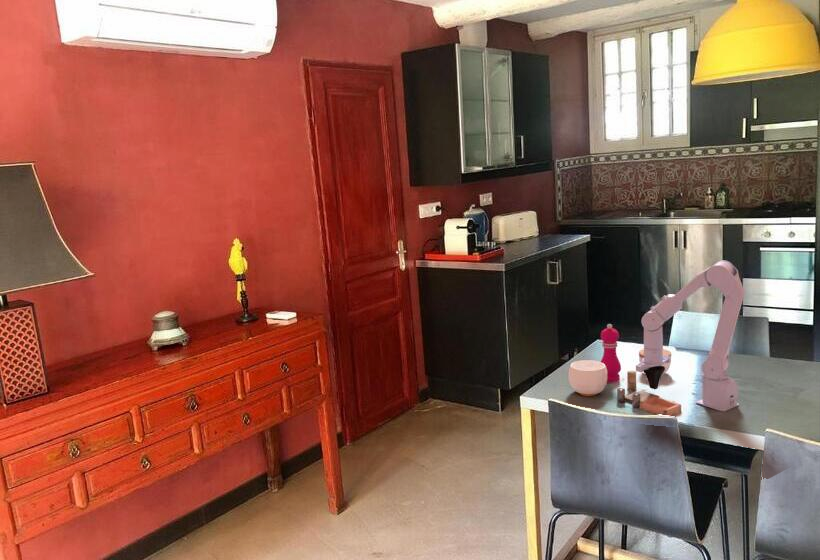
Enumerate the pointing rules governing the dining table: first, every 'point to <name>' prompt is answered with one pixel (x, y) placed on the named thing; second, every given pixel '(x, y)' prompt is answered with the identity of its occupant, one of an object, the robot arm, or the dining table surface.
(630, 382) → the dowel
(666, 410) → the dish
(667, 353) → the lidded jar
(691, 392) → the dining table surface
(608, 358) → the pepper mill
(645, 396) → the tan flat wooden block
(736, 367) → the dining table surface
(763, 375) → the dining table surface
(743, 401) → the dining table surface
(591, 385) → the cup
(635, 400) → the bench dogs
